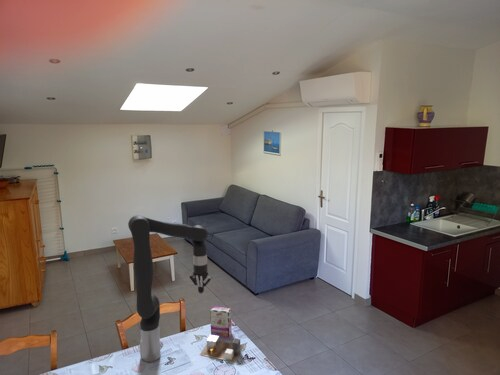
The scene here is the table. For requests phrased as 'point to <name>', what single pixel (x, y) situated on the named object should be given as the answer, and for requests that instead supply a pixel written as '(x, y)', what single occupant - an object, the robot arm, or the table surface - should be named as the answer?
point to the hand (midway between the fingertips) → (201, 292)
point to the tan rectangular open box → (222, 348)
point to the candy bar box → (221, 321)
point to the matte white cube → (229, 354)
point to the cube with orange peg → (213, 343)
